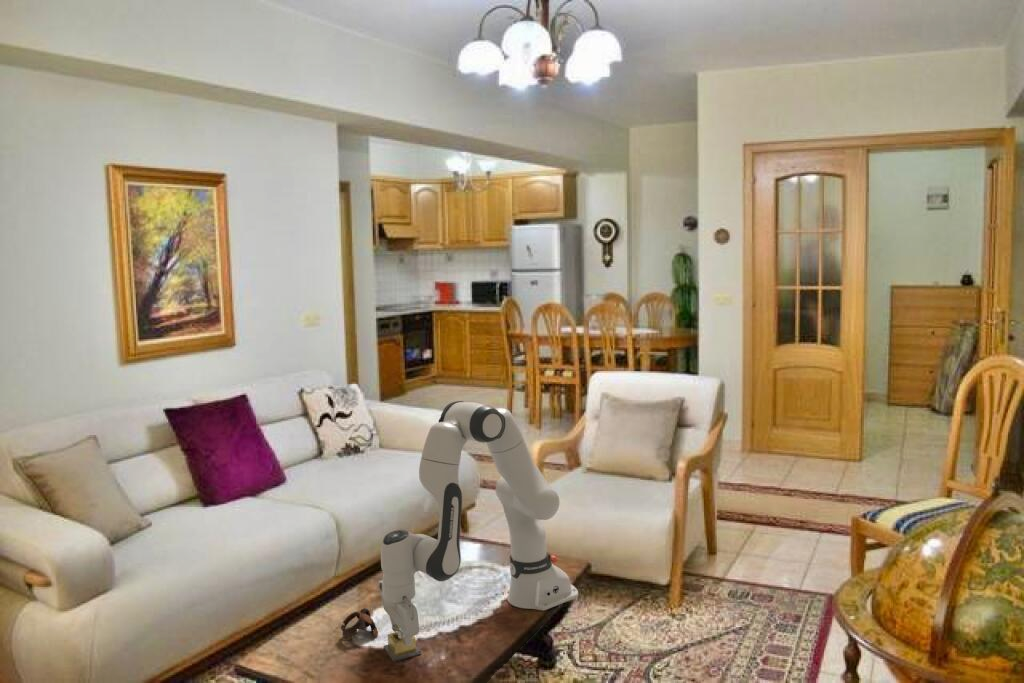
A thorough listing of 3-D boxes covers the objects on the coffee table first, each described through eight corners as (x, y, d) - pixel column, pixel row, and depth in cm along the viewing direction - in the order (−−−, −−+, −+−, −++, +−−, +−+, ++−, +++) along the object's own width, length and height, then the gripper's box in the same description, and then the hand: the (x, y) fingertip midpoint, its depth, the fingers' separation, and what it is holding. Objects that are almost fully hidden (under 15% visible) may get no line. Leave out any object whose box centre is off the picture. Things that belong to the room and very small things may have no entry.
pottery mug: (378, 645, 234) (362, 625, 231) (350, 657, 235) (334, 637, 233) (384, 615, 245) (369, 596, 242) (358, 627, 247) (342, 608, 244)
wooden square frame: (408, 640, 232) (407, 629, 232) (416, 650, 227) (415, 638, 226) (388, 646, 230) (387, 634, 229) (395, 655, 224) (394, 643, 224)
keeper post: (410, 641, 234) (409, 621, 233) (421, 654, 227) (420, 633, 226) (383, 649, 230) (382, 628, 229) (393, 661, 223) (392, 641, 222)
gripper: (423, 602, 218) (426, 650, 220) (397, 574, 236) (400, 620, 238) (401, 607, 215) (403, 657, 217) (376, 579, 233) (379, 625, 235)
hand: (401, 637), depth 228 cm, fingers open, 8 cm apart
